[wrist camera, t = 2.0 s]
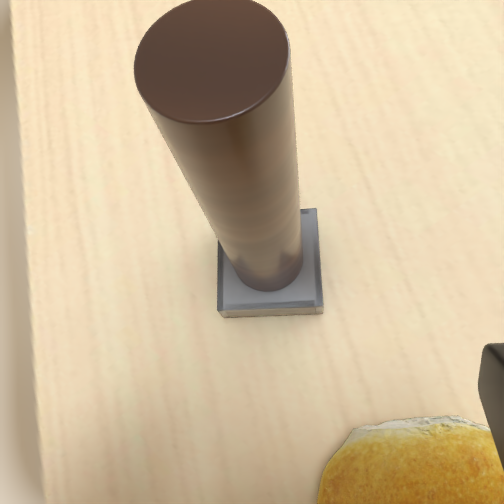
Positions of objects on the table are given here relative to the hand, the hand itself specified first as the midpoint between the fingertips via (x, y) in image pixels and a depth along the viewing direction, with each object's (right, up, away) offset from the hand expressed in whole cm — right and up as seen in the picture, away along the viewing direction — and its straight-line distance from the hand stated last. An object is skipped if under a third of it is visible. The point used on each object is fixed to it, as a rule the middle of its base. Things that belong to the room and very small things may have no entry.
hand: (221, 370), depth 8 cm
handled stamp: (+1, +1, +13) cm, 13 cm away
